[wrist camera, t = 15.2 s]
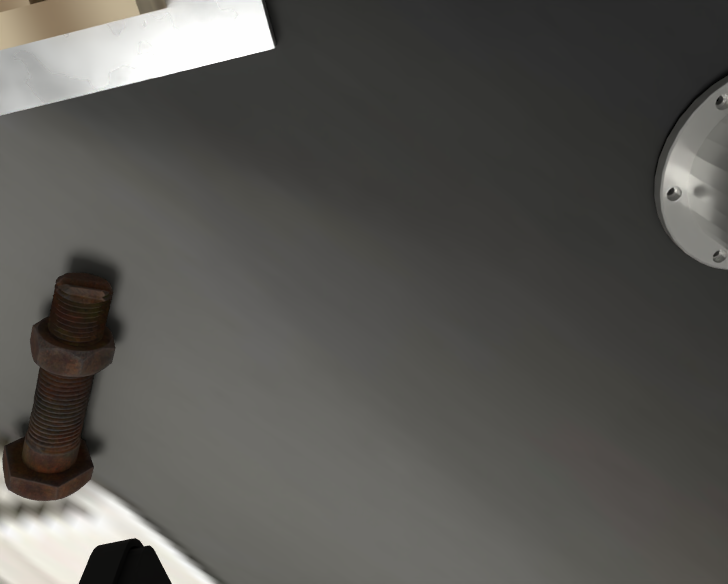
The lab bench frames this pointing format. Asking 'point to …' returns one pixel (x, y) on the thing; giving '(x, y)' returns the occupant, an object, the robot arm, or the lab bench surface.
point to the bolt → (62, 391)
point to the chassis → (132, 50)
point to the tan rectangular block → (63, 17)
